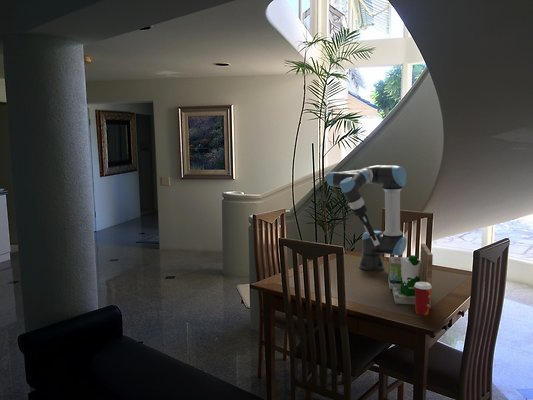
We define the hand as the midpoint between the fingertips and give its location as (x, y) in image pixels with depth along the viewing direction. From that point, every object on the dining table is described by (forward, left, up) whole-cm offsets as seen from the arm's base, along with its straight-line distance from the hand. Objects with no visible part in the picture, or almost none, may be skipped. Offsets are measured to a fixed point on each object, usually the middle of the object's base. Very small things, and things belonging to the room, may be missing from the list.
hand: (373, 239), depth 240 cm
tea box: (-9, +14, -28) cm, 32 cm away
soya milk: (+11, +18, -25) cm, 33 cm away
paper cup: (+30, +21, -28) cm, 46 cm away
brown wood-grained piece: (+11, +17, -28) cm, 34 cm away
